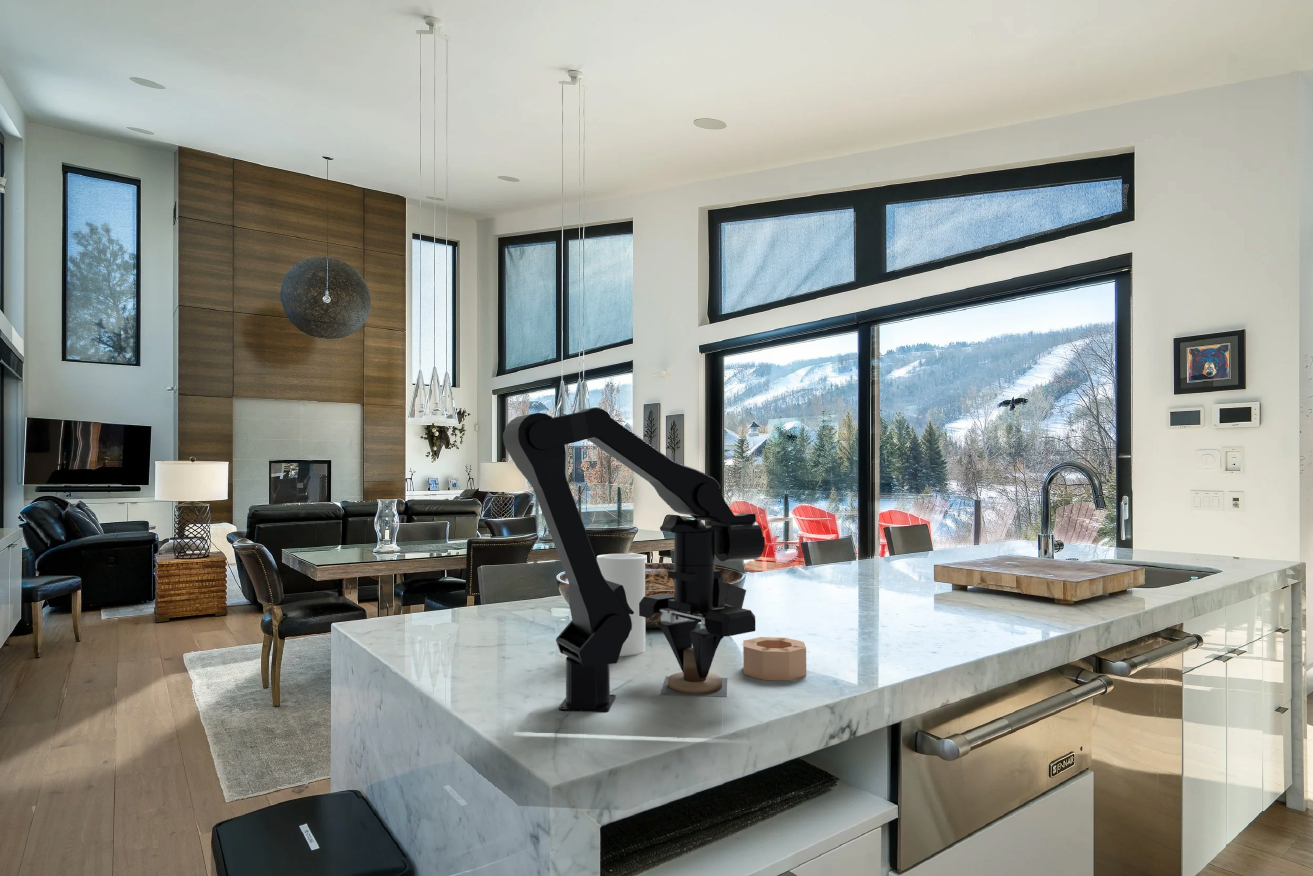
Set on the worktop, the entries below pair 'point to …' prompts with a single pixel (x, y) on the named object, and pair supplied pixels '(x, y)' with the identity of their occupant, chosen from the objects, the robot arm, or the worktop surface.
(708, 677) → the lid
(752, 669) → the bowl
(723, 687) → the mat
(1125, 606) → the worktop surface
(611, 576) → the cup
